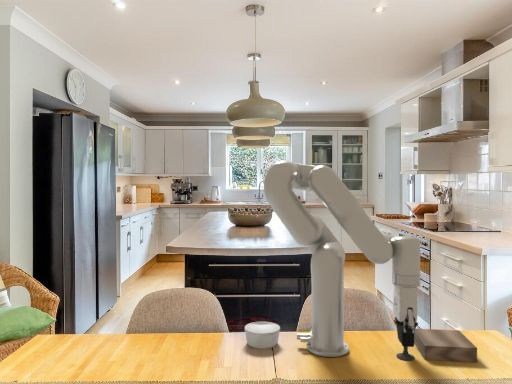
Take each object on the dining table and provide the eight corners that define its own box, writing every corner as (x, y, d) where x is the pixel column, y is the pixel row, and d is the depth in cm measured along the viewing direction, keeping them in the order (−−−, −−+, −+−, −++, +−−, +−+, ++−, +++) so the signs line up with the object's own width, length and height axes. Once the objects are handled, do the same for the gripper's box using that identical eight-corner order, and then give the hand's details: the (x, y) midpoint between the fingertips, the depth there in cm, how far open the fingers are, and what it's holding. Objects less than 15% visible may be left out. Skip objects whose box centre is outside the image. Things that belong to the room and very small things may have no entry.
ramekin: (273, 335, 136) (273, 319, 136) (285, 348, 125) (285, 331, 125) (240, 339, 133) (240, 322, 133) (249, 352, 122) (249, 334, 122)
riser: (424, 359, 117) (424, 345, 117) (412, 341, 131) (412, 328, 131) (477, 362, 115) (477, 348, 115) (459, 343, 129) (459, 330, 129)
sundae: (417, 354, 121) (417, 303, 120) (418, 363, 114) (418, 309, 114) (393, 351, 123) (393, 301, 122) (393, 360, 116) (393, 307, 116)
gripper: (387, 272, 127) (386, 331, 127) (398, 286, 110) (398, 353, 110) (412, 273, 126) (411, 332, 126) (428, 287, 109) (427, 355, 109)
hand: (405, 341), depth 118 cm, fingers closed on sundae, 4 cm apart
